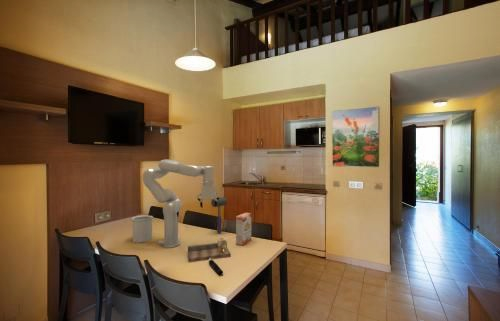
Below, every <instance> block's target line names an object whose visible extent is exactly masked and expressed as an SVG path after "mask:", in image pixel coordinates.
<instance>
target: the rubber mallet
mask: <svg viewBox="0 0 500 321" xmlns="http://www.w3.org/2000/svg"><path fill="white" fill-rule="evenodd" d="M210 204H211V206H212V208H217V216H216V222H217V223H216V224H217V229H216V230H217V234H221V233H222V230H223V229H222V222H223V221H222V210H221V207H223V206H226V205H227V204H228V199H227V198H226V197H224V196H220V198H219V199H218V200H217V205H216V207H215V199H211V202H210Z"/></svg>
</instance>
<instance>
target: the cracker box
mask: <svg viewBox="0 0 500 321" xmlns="http://www.w3.org/2000/svg"><path fill="white" fill-rule="evenodd" d="M235 223H236V224H235V226H236V227H235V229H236V230H235V244H236V245H238V246H244V245H246V244H247V243H249V242H250V241H251V240H252V213H251V212H244V213H242V214H239V215H236V216H235Z"/></svg>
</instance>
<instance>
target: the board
mask: <svg viewBox="0 0 500 321" xmlns="http://www.w3.org/2000/svg"><path fill="white" fill-rule="evenodd" d="M226 250H227V251H225V253H223V251H220V252H219V251H218V243H217V242H213V243H212V242H211V243H204V244H203V243H202V244H195V245H194V244H193V245H187V258H188V259H187V260H188V263H192V262H194V263H195V262H200V261H207V260H208V261H209V259H210V258H211V259H210V260H214V259H221V258H230V257H231V256H232V254H231V252H230V250H229V248H228V241H226Z"/></svg>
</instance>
